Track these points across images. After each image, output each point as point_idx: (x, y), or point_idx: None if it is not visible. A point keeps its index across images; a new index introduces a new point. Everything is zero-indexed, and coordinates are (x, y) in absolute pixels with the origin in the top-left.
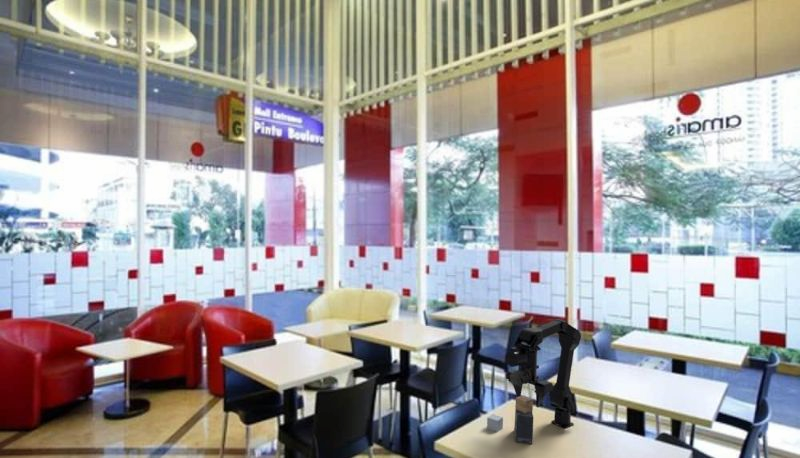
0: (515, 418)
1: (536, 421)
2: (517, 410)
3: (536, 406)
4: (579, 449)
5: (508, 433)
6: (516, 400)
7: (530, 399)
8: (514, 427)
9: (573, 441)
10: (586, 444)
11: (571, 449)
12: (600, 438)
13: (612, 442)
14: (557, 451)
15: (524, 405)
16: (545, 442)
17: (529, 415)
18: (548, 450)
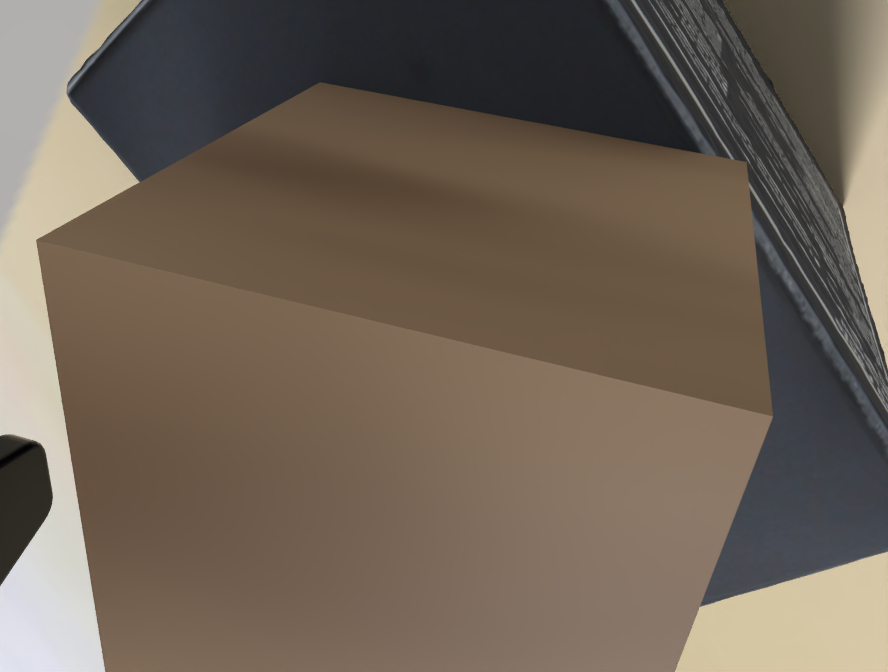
0: (735, 100)
1: (712, 667)
2: (628, 116)
3: (18, 446)
4: (12, 333)
5: (880, 17)
6: (702, 309)
7: (121, 616)
8: (822, 186)
9: None
10: (62, 478)
11: (40, 271)
12: (95, 650)
13: (10, 636)
14: (64, 89)
15: (201, 169)
16: None
17: (161, 76)
18: (128, 12)
